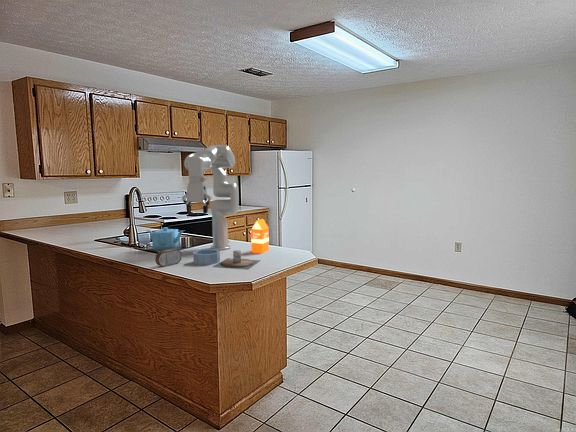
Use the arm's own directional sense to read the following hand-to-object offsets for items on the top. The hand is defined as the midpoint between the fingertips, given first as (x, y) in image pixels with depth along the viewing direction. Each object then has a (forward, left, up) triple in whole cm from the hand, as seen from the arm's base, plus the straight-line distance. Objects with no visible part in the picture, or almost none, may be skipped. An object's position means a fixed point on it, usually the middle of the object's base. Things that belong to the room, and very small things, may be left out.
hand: (197, 212), depth 205 cm
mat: (-6, +20, -28) cm, 35 cm away
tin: (+4, -15, -28) cm, 32 cm away
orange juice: (-41, +21, -28) cm, 54 cm away
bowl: (-6, +2, -28) cm, 29 cm away
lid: (-6, +20, -28) cm, 34 cm away
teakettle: (-27, -37, -28) cm, 54 cm away
